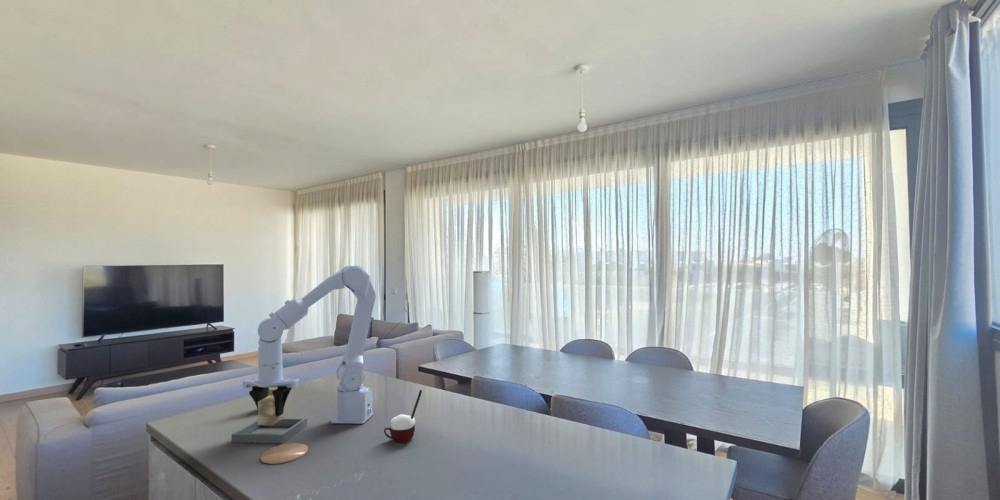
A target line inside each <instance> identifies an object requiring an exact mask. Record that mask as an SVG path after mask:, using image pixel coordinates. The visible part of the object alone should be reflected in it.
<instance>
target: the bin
mask: <svg viewBox="0 0 1000 500" xmlns="http://www.w3.org/2000/svg"><path fill="white" fill-rule="evenodd" d="M305 426H306V427H307V426H308V418H306V417H301V418H300V417H284V418H283V419H281V420H280V421H278V422H277V423H275V424H273V425H258V419H256V420H253V421H252V422H251V423H249V424H247V425H245V426H244V427H242V428H240V429H239V430H237V431H235V432H233V433H231V443H247V442H248V443H251V442H253V443H256V444H257V442H258V443H259V444H260V443H261V444H262V443H263V444H285V442H286V441H288V440H289V439H291V438H292V437H294V436H295V435H296V434H298V433H299V432H300V431H301V430H303V429H305V428H306V427H305ZM261 427H289V428H288V429H286V430H284V431H283V432H282V433H262V432H261V433H259V432H257V433H256V432H255V433H254V431H256V430H258V429H259V428H261ZM252 431H253V432H252Z"/></svg>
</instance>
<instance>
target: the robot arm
mask: <svg viewBox="0 0 1000 500" xmlns="http://www.w3.org/2000/svg"><path fill="white" fill-rule="evenodd" d="M346 288H348V289H349V290H350V291H351V292H352V294H353V295H354V296H355V298H356V305H355V310H354V314H353V318H352V322H351V328H350V333H349V336H348V342H347V344H346V345H347V346H346V351H345V353H344V355H343V357H342V361H341V363H340V364H339V366H338V367H337V369H336V373H335V374H336V378H337V380H339V381H340V382H339V383H338V385H337V387H336V417H335V418H334V419H333V420H331V421H330V422H331V424H356V425H357V424H364V423H366V422H367V420H369V419H370V418H371V417H372V416H373V415H374V414H375V413H374V411H373V406H374V405H373V403H374V402H373V399H374V397H373V389H372V388H370V387H366V386H364V384H363V383H364V380H365V375H364V370H363V369H364V352H365V348H366V343H367V338H368V334H369V329H370V325H371V321H372V315H373V313H374V306H375V303H376V302H375V301H376V297H377V296H376V295H377V294H376V292H375V289H374V287H373V284H372V282H371V278H370V275H369V273H367V271H366V270H365V269H364V268H363V267H361V266H358V265H346V266H344V267H343V268H342V269H341V270H338V271H336V272H335V273H333V274H331V275H329V276H328V277H326V278H325V279H324V280H322V281H321V282H320V283H319V284H318V285H317V286H315V287H314V288H313V289H312V290H310V291H309V292H308V293H306V294H305V295H304V296H303V297H301V298H292V299H291V300H289V299H287V300H286V301H284V305H283V306H281V307H280V308H279V309H277V310H276V311H275V312H270V313H269V314H268V315H269V317H267V318H264V319H263V320H261V322H260V323H259V325H258V328H257V334H258V337H259V339H258V348H257V358H258V359H257V360H258V361H257V363H258V364H257V366H258V369H257V370H258V371H257V372H258V373H257V375H258V378H247V379H245V380H242V389H249V388H250V389H251V390H249V392H248V394H249V395H250V397H251V398H252V400H253V402H254V403H255V406H256V409H257V410H258V401H260V400H262V399H264V398H266V397H267V396H268V390H269V388H278V389H276V390H274V391H272V393H273V396H274V400H275V413H276V416H280V415H281V414H283V410H284V408H285V405H286V403H287V402H286V401H287V399H288V397H289V395H290V392H291V390H292V389H296V388H298V387H299V386H300V382H299V381H300V379H299V378H288V377H284V374H283V371H284V370H283V369H284V368H283V367H284V365H283V344H282V336H283V334H284V331H286V330H289V329H290V328H292V327H293V326H294V325H296V324H297V323H298V322H299V321H300V320H302V319H303V318H304V317H306V316H307V315H308V312H309V308H310V307H311V306H312V305H314V304H316V303H317V302H318V301H320V300H321V299H323V298H324V297H325V296H327V295H328V294H329V293H331V292H333V291H335V290H341V289H346ZM284 411H285V410H284Z"/></svg>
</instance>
